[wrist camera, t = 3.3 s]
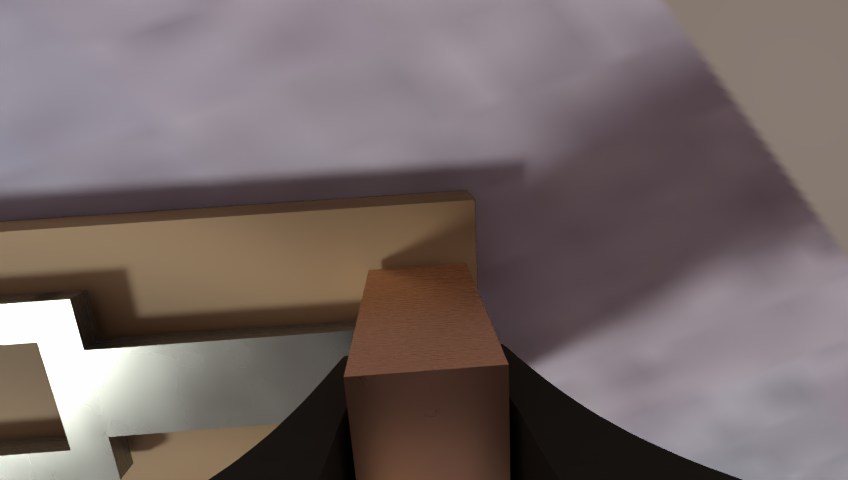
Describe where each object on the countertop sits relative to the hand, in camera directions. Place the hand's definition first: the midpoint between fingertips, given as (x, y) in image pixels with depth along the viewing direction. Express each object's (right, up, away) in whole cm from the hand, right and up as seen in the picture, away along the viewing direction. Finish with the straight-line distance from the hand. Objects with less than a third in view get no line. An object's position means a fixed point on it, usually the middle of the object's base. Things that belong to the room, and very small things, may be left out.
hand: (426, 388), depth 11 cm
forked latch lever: (-6, 0, +1) cm, 6 cm away
